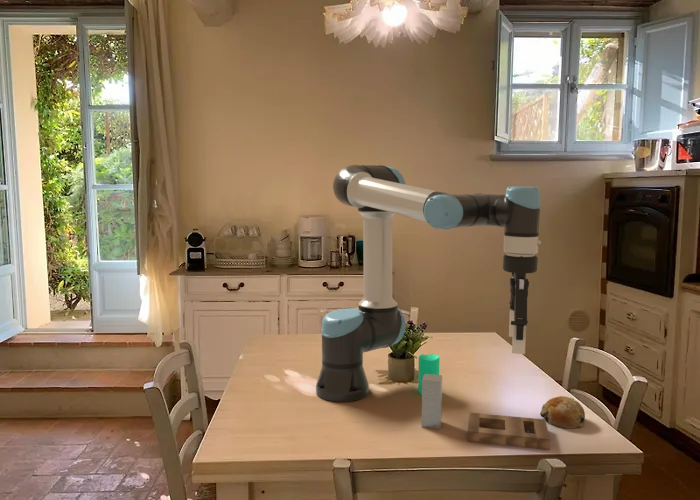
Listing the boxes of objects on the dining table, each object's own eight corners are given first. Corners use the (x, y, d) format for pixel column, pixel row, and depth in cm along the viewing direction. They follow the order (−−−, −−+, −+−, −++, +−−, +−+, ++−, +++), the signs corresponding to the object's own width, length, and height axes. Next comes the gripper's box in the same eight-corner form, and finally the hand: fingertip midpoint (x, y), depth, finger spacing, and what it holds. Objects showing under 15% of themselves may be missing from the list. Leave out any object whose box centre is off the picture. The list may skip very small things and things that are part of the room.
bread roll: (571, 445, 137) (587, 419, 134) (533, 419, 141) (548, 394, 138) (579, 430, 145) (594, 406, 142) (542, 406, 149) (557, 382, 147)
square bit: (421, 427, 138) (422, 379, 137) (423, 419, 143) (424, 373, 141) (440, 429, 137) (440, 381, 136) (441, 421, 142) (442, 375, 140)
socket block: (467, 441, 131) (467, 430, 130) (469, 422, 141) (469, 412, 141) (549, 449, 126) (549, 439, 126) (544, 429, 137) (545, 419, 137)
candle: (441, 390, 163) (442, 349, 162) (435, 397, 158) (436, 355, 157) (421, 387, 166) (422, 347, 164) (415, 393, 160) (415, 352, 159)
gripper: (543, 262, 116) (538, 362, 118) (532, 248, 140) (528, 331, 142) (506, 261, 117) (501, 359, 120) (501, 247, 141) (498, 329, 144)
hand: (516, 344), depth 131 cm, fingers open, 13 cm apart
